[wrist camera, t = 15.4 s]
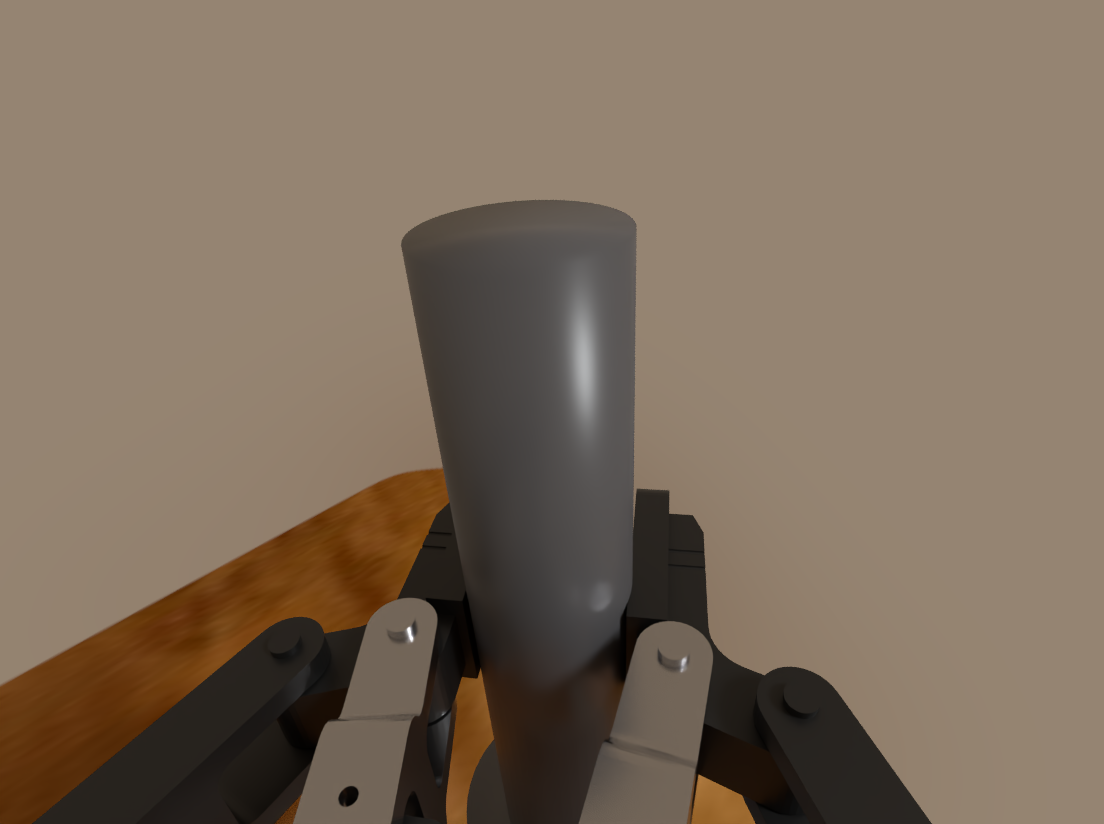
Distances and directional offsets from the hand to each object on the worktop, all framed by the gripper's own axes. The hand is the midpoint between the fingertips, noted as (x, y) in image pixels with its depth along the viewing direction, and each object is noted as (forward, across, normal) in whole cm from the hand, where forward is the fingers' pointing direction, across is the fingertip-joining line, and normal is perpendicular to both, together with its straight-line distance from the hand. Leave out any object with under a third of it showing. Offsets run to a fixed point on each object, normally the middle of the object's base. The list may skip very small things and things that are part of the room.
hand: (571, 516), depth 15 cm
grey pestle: (-3, 0, +11) cm, 11 cm away
